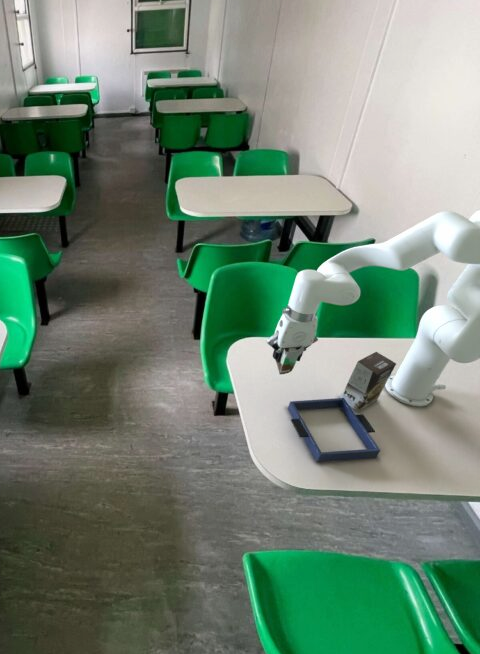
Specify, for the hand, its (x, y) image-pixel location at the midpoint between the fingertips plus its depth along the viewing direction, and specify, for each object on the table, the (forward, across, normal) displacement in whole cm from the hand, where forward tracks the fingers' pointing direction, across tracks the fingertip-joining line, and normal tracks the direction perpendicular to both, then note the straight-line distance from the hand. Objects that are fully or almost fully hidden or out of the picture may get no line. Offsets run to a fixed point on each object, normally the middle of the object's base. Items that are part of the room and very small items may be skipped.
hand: (286, 358), depth 129 cm
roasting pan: (+13, +8, -18) cm, 24 cm away
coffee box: (+13, +23, -7) cm, 27 cm away
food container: (+3, +1, 0) cm, 3 cm away
